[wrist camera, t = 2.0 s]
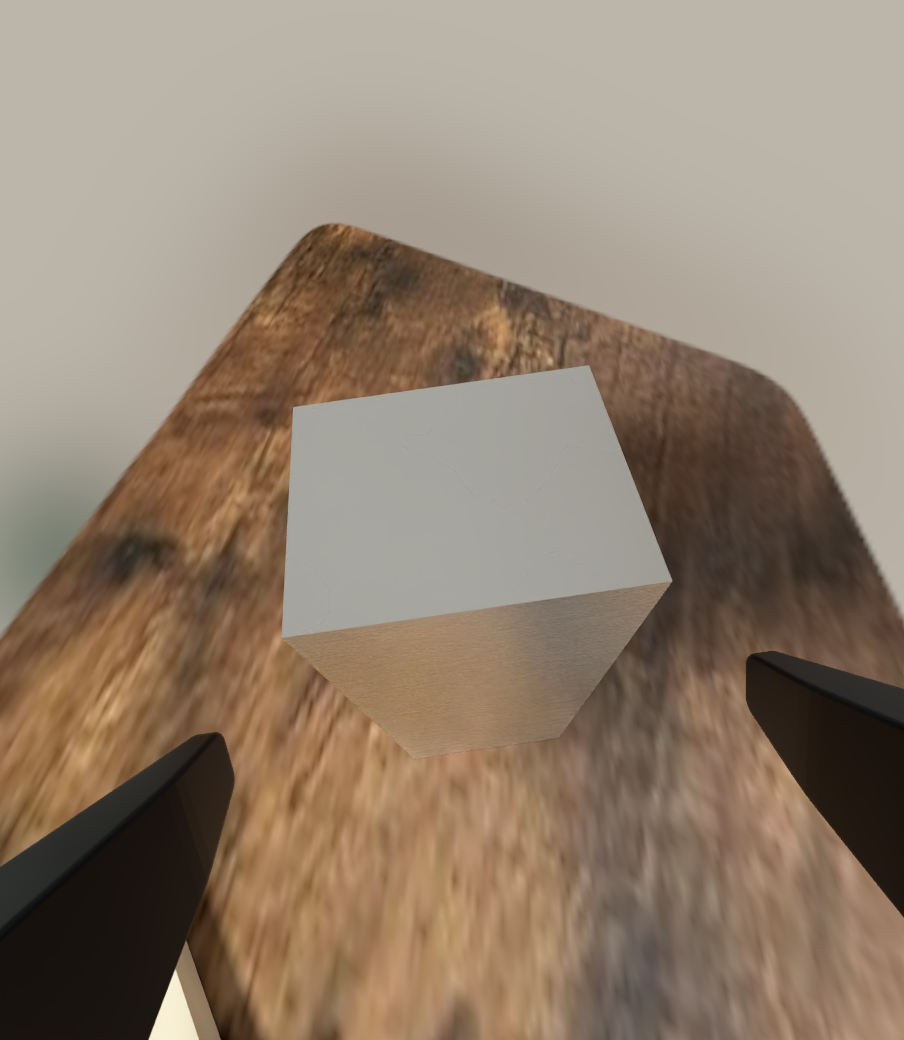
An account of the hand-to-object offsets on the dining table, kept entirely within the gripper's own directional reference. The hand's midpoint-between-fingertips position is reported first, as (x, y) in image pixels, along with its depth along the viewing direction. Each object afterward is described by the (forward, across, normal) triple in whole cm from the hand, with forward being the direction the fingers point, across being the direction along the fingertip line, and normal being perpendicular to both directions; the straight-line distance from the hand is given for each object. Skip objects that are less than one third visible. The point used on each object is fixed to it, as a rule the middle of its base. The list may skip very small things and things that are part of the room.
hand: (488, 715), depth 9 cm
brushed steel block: (+9, 0, +5) cm, 10 cm away
